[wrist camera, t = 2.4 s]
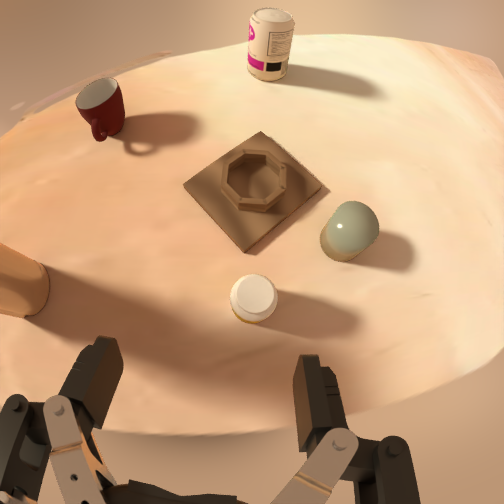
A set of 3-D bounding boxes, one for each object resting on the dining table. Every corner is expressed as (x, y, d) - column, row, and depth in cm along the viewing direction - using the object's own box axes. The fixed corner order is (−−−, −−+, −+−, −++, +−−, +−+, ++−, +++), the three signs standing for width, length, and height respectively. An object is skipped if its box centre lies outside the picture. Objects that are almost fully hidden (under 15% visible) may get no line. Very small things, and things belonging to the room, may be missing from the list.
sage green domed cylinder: (341, 270, 41) (359, 257, 34) (311, 238, 42) (324, 220, 35) (367, 243, 42) (387, 226, 36) (338, 213, 44) (354, 192, 37)
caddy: (244, 253, 41) (244, 245, 38) (184, 187, 44) (180, 175, 40) (320, 189, 45) (326, 177, 41) (260, 135, 47) (261, 121, 44)
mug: (132, 147, 46) (114, 110, 36) (92, 159, 45) (69, 126, 35) (133, 108, 49) (119, 72, 39) (96, 119, 48) (79, 86, 38)
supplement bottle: (223, 300, 39) (218, 288, 30) (254, 276, 40) (259, 257, 31) (248, 332, 38) (251, 330, 29) (279, 307, 39) (292, 297, 30)
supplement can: (243, 79, 52) (245, 19, 37) (252, 59, 54) (255, 4, 40) (282, 86, 52) (293, 26, 37) (288, 65, 54) (297, 10, 40)
